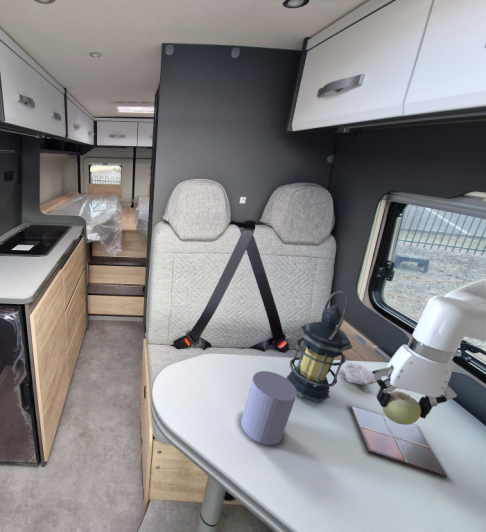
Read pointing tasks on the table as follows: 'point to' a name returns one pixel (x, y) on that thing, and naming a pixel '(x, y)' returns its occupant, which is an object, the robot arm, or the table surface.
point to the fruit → (402, 408)
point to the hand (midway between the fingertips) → (400, 408)
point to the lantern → (320, 353)
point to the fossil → (358, 374)
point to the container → (268, 407)
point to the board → (396, 441)
